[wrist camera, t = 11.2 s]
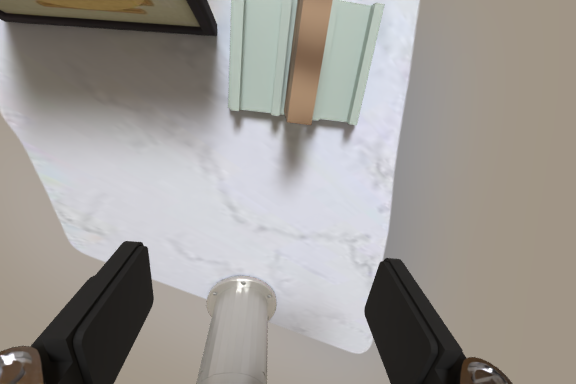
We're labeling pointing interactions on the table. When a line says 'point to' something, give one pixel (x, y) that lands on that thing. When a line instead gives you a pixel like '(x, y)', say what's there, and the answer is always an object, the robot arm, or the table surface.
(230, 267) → the table surface
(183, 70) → the table surface
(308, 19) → the long brown rectangular block
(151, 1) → the picture frame
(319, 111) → the display rail
